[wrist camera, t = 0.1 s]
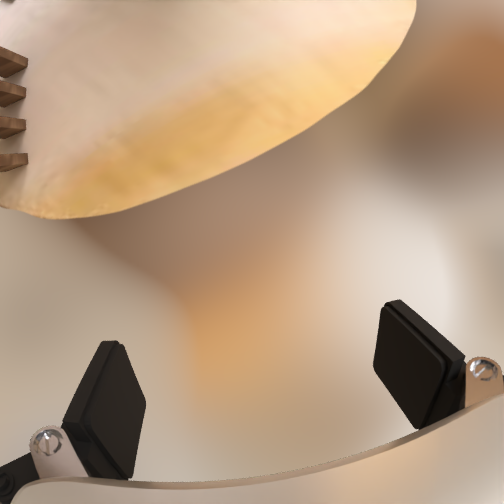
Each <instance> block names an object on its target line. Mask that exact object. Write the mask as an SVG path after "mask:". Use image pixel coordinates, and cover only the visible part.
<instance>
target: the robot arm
mask: <svg viewBox="0 0 504 504" xmlns="http://www.w3.org/2000/svg"><path fill="white" fill-rule="evenodd" d="M464 359H465V355H464V354H463V353H462V352H461V351H459V350H458V349H457V348H456V347H455V346H454V345H453V344H452V343H451V342H449V341H448V340H447V339H446V338H445V337H444V336H443V335H441V334H440V333H439V332H438V331H437V330H436V329H435V328H433V327H432V326H431V325H430V324H429V323H428V322H427V321H425V320H424V319H423V318H422V317H421V316H420V315H418V314H417V313H416V312H415V311H414V310H412V309H411V308H410V307H409V306H407V305H406V304H405V303H404V302H403V301H402V300H395V301H391V302H387V303H385V305H384V307H382V309H381V313H380V320H379V329H378V335H377V342H376V349H375V355H374V361H373V367H374V371H375V372H376V374H377V375H378V377H379V378H380V380H381V381H382V382H383V384H384V385H385V387H386V388H387V389H388V391H389V392H390V394H391V395H392V396H393V398H394V400H395V401H396V402H397V404H398V405H399V407H400V408H401V410H402V411H403V412H404V414H405V415H406V417H407V418H408V420H409V421H410V423H411V424H412V425H413V427H414V428H415V429H419V430H418V431H416V432H414V433H412V434H409V435H407V436H405V437H402V438H400V439H397V440H395V441H392V442H389V443H387V444H385V445H382V446H379V447H376V448H374V449H370V450H367V451H364V452H361V453H358V454H355V455H352V456H348V457H345V458H342V459H338V460H335V461H331V462H327V463H324V464H319V465H315V466H311V467H307V468H302V469H298V470H293V471H288V472H282V473H277V474H271V475H264V476H258V477H250V478H242V479H232V480H221V481H205V482H145V481H144V482H143V481H128V478H132V476H133V473H134V467H135V460H136V455H137V449H138V444H139V439H140V433H141V428H142V423H143V418H144V413H145V409H146V401H145V397H144V395H143V393H142V390H141V388H140V385H139V383H138V381H137V378H136V376H135V373H134V371H133V368H132V366H131V363H130V360H129V358H128V355H127V352H126V350H125V347H124V345H123V344H119V342H118V341H102V342H101V343H100V345H99V347H98V349H97V351H96V353H95V355H94V356H93V359H92V360H91V362H90V364H89V366H88V368H87V370H86V372H85V374H84V376H83V378H82V380H81V382H80V384H79V386H78V388H77V390H76V393H75V394H74V397H73V399H72V401H71V403H70V405H69V407H68V410H67V412H66V414H65V416H64V418H63V423H62V425H61V428H60V427H57V426H46V427H42V428H41V429H39V430H37V431H36V432H35V433H34V434H33V436H32V438H31V439H30V444H29V447H30V451H31V452H30V453H28V454H26V455H24V456H22V457H20V458H18V459H16V460H14V461H12V462H10V463H8V464H6V465H3V466H1V467H0V504H504V375H502V370H501V367H500V366H499V365H498V363H497V362H495V361H494V360H492V359H490V358H486V357H475V358H472V359H471V360H469V362H468V363H467V364H466V363H465V362H464Z"/></svg>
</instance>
